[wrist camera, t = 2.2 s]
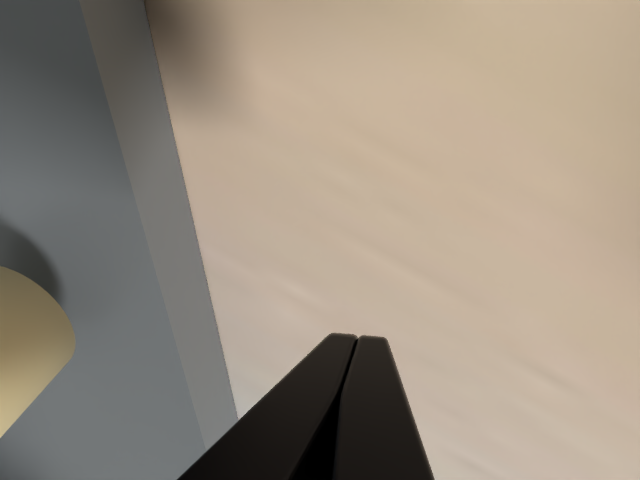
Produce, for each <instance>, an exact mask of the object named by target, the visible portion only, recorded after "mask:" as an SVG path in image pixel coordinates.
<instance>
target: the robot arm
mask: <svg viewBox="0 0 640 480" xmlns="http://www.w3.org/2000/svg"><path fill="white" fill-rule="evenodd" d="M177 480H435V479H434V476H433V473H432V470H431V467H430V464H429V461H428V458H427V455H426V452H425V449H424V446H423V444H422V441H421V438H420V435H419V432H418V429H417V426H416V423H415V420H414V417H413V414H412V411H411V408H410V405H409V402H408V399H407V396H406V393H405V390H404V387H403V384H402V381H401V378H400V375H399V372H398V370H397V367H396V364H395V361H394V358H393V355H392V352H391V349H390V346H389V343H388V341H387V339H386V338H384V337H378V336H366V335H362V336H360V337H359V338H358V337H357V336H356V335H353V334H342V333H331V334H329V335H328V336H327V337H326V338H325V339H324V340H323V341H321V342H320V343H319V344H318V345H317V346H316V347H315V348H314V349H313V350H312V351H311V352H310V353H309V354H308V355H307V356H306V357H305V358H304V359H303V360H302V361H300V362H299V363H298V364H297V365H296V366H295V367H294V368H293V369H292V370H291V371H290V372H289V373H288V374H287V375H286V376H285V377H284V378H283V379H282V380H281V381H280V382H278V383H277V384H276V385H275V386H274V387H273V388H272V389H271V390H270V391H269V392H268V393H267V394H266V395H265V396H264V397H263V398H262V399H261V400H260V401H259V402H257V403H256V404H255V405H254V406H253V407H252V408H251V409H250V410H249V411H248V412H247V413H246V414H245V415H244V416H243V417H242V418H241V419H240V420H239V421H238V422H236V423H235V424H234V425H233V426H232V427H231V428H230V429H229V430H228V431H227V432H226V433H225V434H224V435H223V436H222V437H221V438H220V439H219V440H218V441H217V442H215V443H214V444H213V445H212V446H211V447H210V448H209V449H208V450H207V451H206V452H205V453H204V454H203V455H202V456H201V457H200V458H199V459H198V460H197V461H196V462H194V463H193V464H192V465H191V466H190V467H189V468H188V469H187V470H186V471H185V472H184V473H183V474H182V475H181V476H180V477H179V478H178V479H177Z"/></svg>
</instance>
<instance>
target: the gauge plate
mask: <svg viewBox="0 0 640 480" xmlns="http://www.w3.org/2000/svg"><path fill="white" fill-rule="evenodd" d="M0 266H2V267H6V268H8V269H11V270H14V271H16V272H18V273H20V274H22V275H24V276H26V277H27V278H29V279H31V280H32V281H34V282H35V283H37V284H38V285H39V286H41V287H42V288H43V289H44V290H45V291H47V292H48V293H49V294H50V295H51V296H52V297H53V298H54V299H55V300H56V302H57V303H58V304H59V305H60V306H61V308H62V309H63V311H64V312H65V313H66V315H67V317H68V319H69V321H70V323H71V325H72V327H73V331H74V334H75V351H74V354H73V356H72V358H71V359H70V360H69V362H68V363H67V364H66V365H65V366H64V367H63V368H62V370H61V371H60V372H59V373H58V374H57V375H56V376H55V377H54V378H53V380H52V381H51V382H50V383H49V384H48V385H47V386H46V387H45V389H44V390H43V391H42V392H41V393H40V394H39V395H38V396H37V398H36V399H35V400H34V401H33V402H32V403H31V404H30V405H29V406H28V408H27V409H26V410H25V411H24V412H23V413H22V414H21V415H20V417H19V418H18V419H17V420H16V421H15V422H14V423H13V424H12V425H11V427H10V428H9V429H8V430H7V431H6V432H5V433H4V434H3V436H2V437H1V438H0V480H177V479H178V478H179V477H180V476H181V475H182V474H183V473H184V472H185V471H186V470H187V469H188V468H189V467H190V466H191V465H192V464H193V463H194V462H196V461H197V460H198V459H199V458H200V457H201V456H202V455H203V454H204V453H205V452H206V451H207V450H208V449H209V448H210V447H211V446H212V445H213V444H214V443H215V442H217V441H218V440H219V439H220V438H221V437H222V436H223V435H224V434H225V433H226V432H227V431H228V430H229V429H230V428H231V427H232V426H233V425H234V424H235V423H236V422H238V417H237V412H236V408H235V404H234V399H233V395H232V390H231V386H230V381H229V377H228V373H227V368H226V364H225V359H224V355H223V351H222V346H221V342H220V337H219V333H218V328H217V324H216V320H215V315H214V311H213V306H212V302H211V297H210V293H209V289H208V284H207V280H206V275H205V271H204V267H203V262H202V258H201V253H200V249H199V244H198V240H197V236H196V231H195V227H194V222H193V218H192V213H191V209H190V205H189V200H188V196H187V191H186V187H185V182H184V178H183V174H182V169H181V165H180V160H179V156H178V152H177V147H176V143H175V138H174V134H173V129H172V125H171V121H170V116H169V112H168V107H167V103H166V98H165V94H164V90H163V85H162V81H161V76H160V72H159V68H158V63H157V59H156V54H155V50H154V45H153V41H152V37H151V32H150V28H149V23H148V19H147V14H146V10H145V6H144V1H143V0H0Z"/></svg>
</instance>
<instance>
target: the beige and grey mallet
mask: <svg viewBox="0 0 640 480" xmlns="http://www.w3.org/2000/svg"><path fill="white" fill-rule="evenodd" d="M74 351H75V334H74V331H73V327H72V325H71V323H70V321H69V319H68V317H67V315H66V313H65V312H64V311H63V309H62V308H61V306H60V305H59V304H58V303H57V302H56V300H55V299H54V298H53V297H52V296H51V295H50V294H49V293H48V292H47V291H45V290H44V289H43V288H42V287H41V286H39V285H38V284H37V283H35V282H34V281H32V280H31V279H29V278H27V277H26V276H24V275H22V274H20V273H18V272H16V271H14V270H11V269H8V268H6V267H2V266H0V438H1V437H2V436H3V434H4V433H5V432H6V431H7V430H8V429H9V428H10V427H11V425H12V424H13V423H14V422H15V421H16V420H17V419H18V418H19V417H20V415H21V414H22V413H23V412H24V411H25V410H26V409H27V408H28V406H29V405H30V404H31V403H32V402H33V401H34V400H35V399H36V398H37V396H38V395H39V394H40V393H41V392H42V391H43V390H44V389H45V387H46V386H47V385H48V384H49V383H50V382H51V381H52V380H53V378H54V377H55V376H56V375H57V374H58V373H59V372H60V371H61V370H62V368H63V367H64V366H65V365H66V364H67V363H68V362H69V360H70V359H71V358H72V356H73V354H74Z"/></svg>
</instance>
